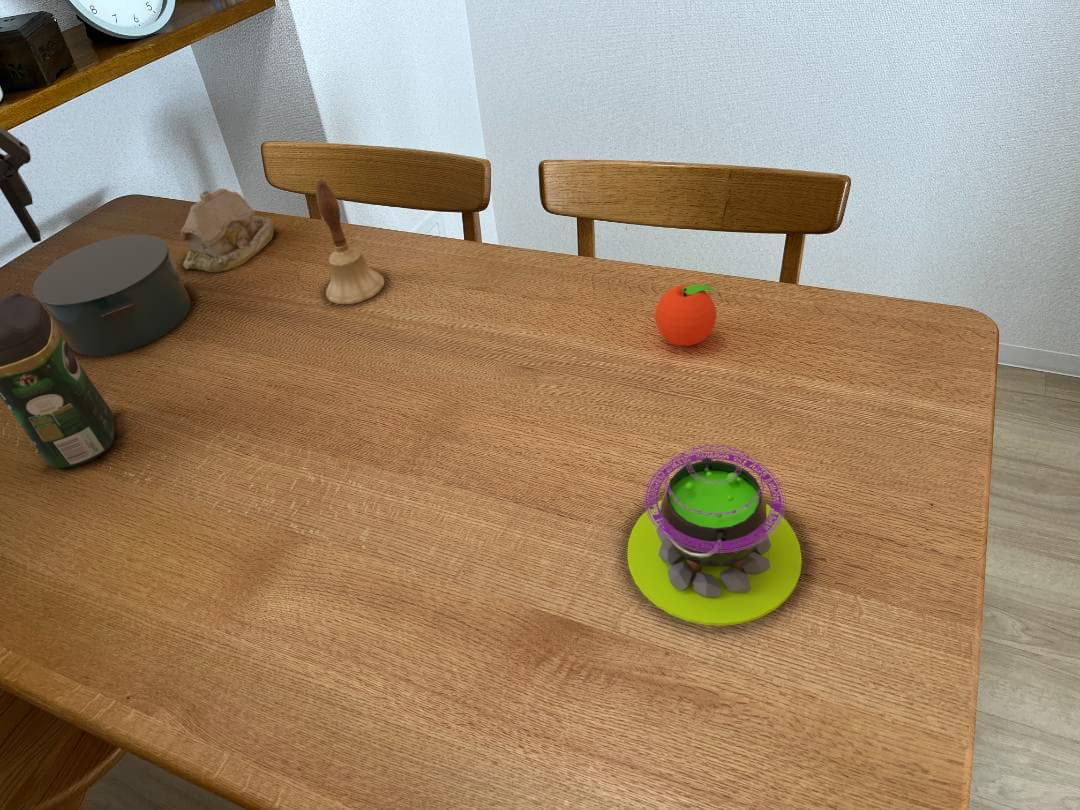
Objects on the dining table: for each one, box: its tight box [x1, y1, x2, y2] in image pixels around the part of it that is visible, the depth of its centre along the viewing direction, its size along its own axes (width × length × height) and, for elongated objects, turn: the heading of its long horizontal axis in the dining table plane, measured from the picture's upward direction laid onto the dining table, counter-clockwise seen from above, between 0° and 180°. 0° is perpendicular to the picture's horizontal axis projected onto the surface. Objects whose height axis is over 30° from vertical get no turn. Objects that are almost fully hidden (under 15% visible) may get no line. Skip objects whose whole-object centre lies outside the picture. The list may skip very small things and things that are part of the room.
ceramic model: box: [180, 188, 274, 273], centre depth 124 cm, size 14×11×10 cm
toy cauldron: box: [626, 444, 803, 627], centre depth 67 cm, size 15×15×11 cm
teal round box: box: [32, 234, 191, 357], centre depth 112 cm, size 18×21×9 cm
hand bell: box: [315, 179, 385, 305], centre depth 108 cm, size 8×8×16 cm
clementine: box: [654, 284, 722, 347], centre depth 92 cm, size 8×7×7 cm
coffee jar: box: [0, 292, 116, 469], centre depth 88 cm, size 10×8×19 cm
